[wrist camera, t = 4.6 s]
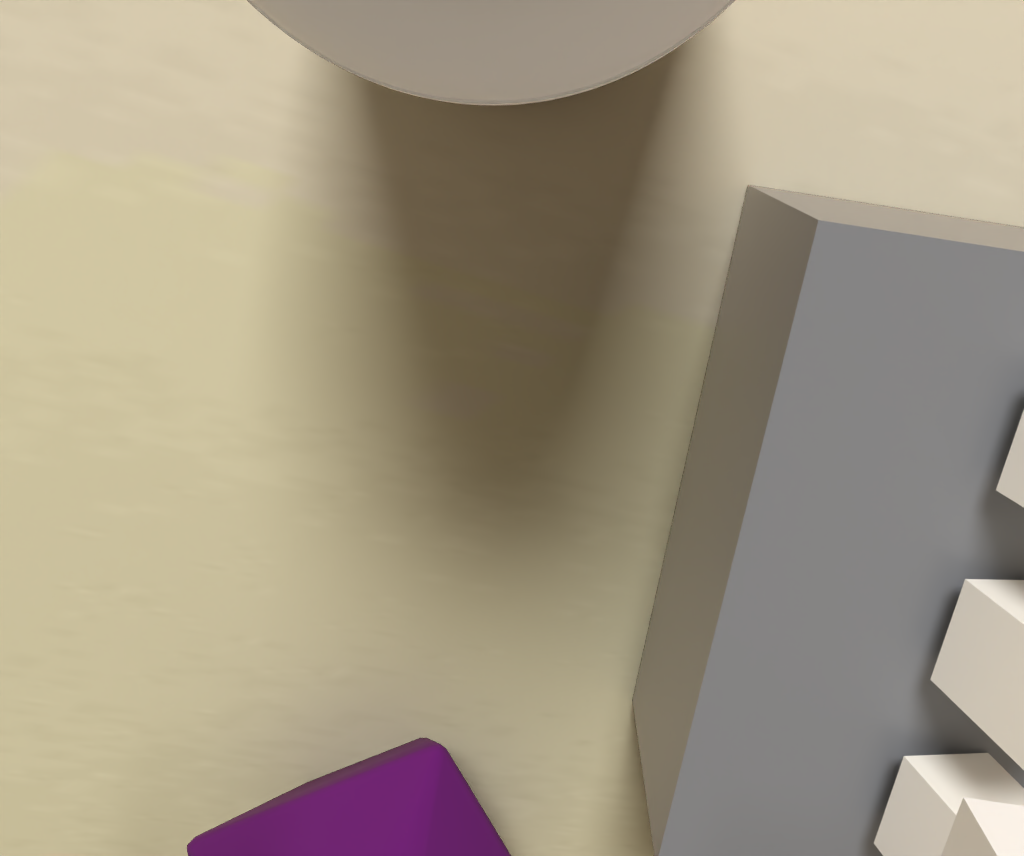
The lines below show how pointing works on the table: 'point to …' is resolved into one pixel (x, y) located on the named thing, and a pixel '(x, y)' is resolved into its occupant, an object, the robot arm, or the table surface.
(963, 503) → the breaker panel
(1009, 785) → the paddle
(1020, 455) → the cream sugar cube
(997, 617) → the paddle middle
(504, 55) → the pill bottle
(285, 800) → the perfume bottle
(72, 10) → the table surface
